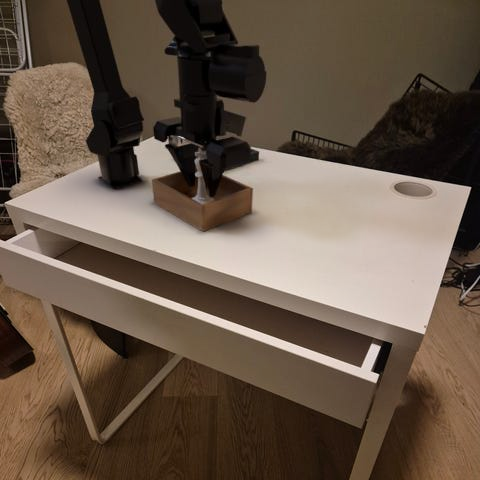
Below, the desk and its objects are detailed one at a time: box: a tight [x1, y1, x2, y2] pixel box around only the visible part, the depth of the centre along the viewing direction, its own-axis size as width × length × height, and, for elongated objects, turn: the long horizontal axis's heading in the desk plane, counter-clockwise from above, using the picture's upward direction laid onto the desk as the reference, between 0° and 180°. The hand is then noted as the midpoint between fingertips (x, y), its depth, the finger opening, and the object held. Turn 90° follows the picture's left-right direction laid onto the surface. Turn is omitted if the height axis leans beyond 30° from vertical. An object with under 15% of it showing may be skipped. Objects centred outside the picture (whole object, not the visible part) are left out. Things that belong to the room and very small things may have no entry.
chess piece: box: [191, 148, 214, 204], centre depth 71 cm, size 5×5×10 cm
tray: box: [196, 137, 260, 172], centre depth 93 cm, size 14×12×2 cm
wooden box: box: [151, 167, 254, 232], centre depth 73 cm, size 11×14×4 cm
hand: (201, 191), depth 73 cm, fingers open, 5 cm apart
